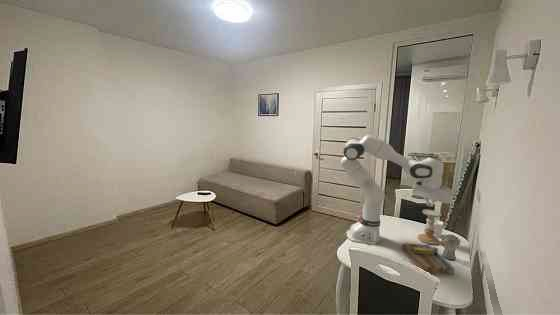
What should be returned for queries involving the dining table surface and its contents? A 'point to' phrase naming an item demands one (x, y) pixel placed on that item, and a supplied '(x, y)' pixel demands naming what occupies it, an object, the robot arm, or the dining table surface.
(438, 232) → the white cup
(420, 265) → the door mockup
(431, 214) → the candle holder
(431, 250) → the lock bar
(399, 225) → the dining table surface
